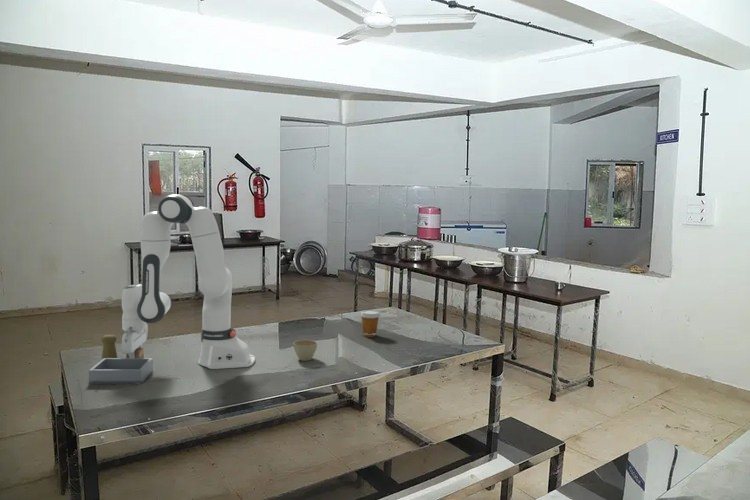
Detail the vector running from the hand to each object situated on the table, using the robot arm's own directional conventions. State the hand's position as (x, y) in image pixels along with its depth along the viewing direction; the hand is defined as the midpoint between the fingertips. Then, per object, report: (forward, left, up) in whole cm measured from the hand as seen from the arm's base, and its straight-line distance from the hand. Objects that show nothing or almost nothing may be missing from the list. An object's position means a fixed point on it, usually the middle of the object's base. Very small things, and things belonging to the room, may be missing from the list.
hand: (135, 358), depth 221 cm
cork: (+10, -1, -2) cm, 10 cm away
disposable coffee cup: (-99, -43, -2) cm, 108 cm away
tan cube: (0, 0, -2) cm, 2 cm away
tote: (-1, +17, -2) cm, 17 cm away
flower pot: (-68, -5, -2) cm, 68 cm away
